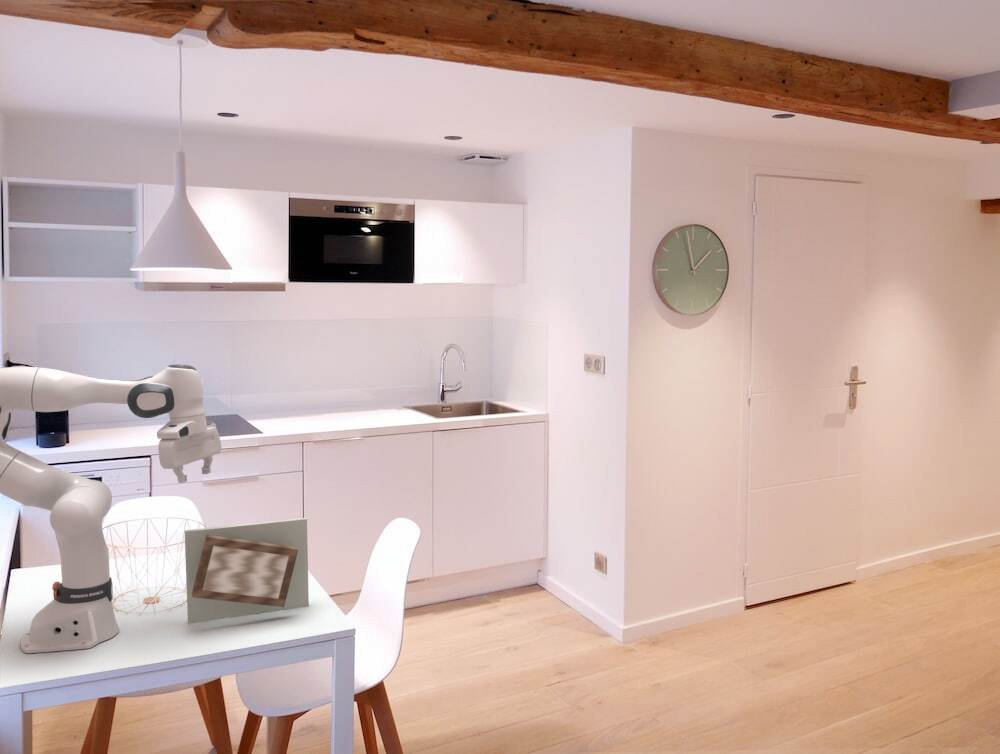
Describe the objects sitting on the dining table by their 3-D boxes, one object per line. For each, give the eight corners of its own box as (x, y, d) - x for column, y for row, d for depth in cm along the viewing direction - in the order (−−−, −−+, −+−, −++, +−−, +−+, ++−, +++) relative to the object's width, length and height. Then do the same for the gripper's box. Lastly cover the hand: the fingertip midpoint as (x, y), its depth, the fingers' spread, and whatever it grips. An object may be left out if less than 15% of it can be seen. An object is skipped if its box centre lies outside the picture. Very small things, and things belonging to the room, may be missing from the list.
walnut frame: (192, 597, 224) (207, 537, 224) (191, 594, 226) (206, 534, 226) (284, 607, 234) (298, 549, 234) (282, 604, 236) (296, 547, 236)
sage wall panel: (189, 629, 227) (186, 536, 225) (187, 621, 233) (184, 530, 230) (311, 611, 240) (310, 523, 237) (307, 604, 246) (305, 517, 243)
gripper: (204, 419, 237) (210, 468, 238) (151, 433, 218) (158, 487, 219) (224, 418, 235) (229, 468, 236) (172, 433, 216) (178, 487, 217)
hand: (194, 477), depth 228 cm, fingers open, 8 cm apart
